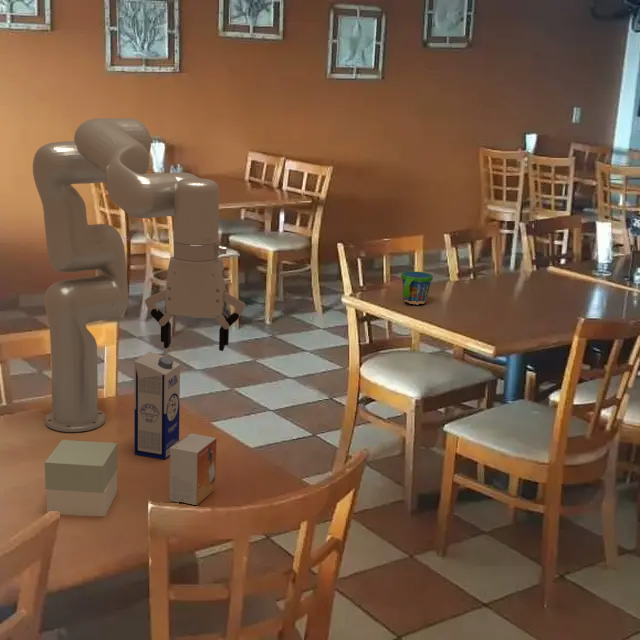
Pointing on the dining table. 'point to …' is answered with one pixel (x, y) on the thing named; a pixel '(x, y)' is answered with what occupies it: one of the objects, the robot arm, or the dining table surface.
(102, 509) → the tower bottom
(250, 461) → the dining table surface
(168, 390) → the milk carton
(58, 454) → the tower top
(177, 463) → the small box
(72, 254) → the robot arm
